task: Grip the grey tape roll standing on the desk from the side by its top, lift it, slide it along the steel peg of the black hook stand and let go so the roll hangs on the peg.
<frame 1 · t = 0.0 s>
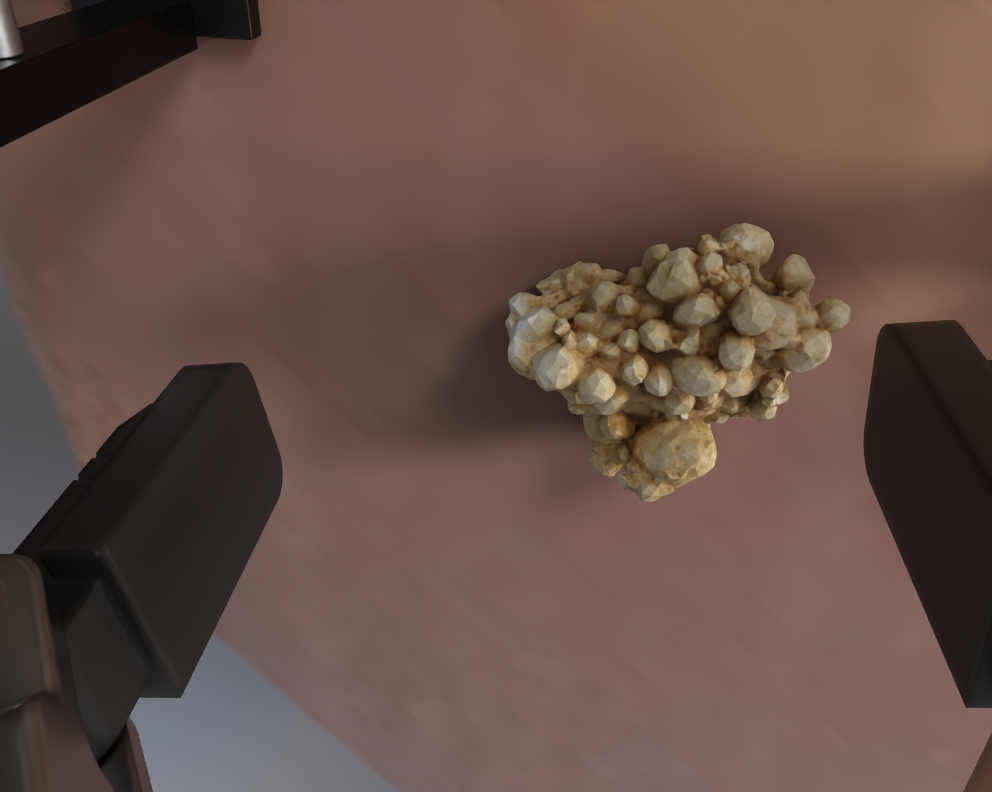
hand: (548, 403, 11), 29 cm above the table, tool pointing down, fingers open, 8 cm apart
mineral formation: (679, 319, 42), on the table
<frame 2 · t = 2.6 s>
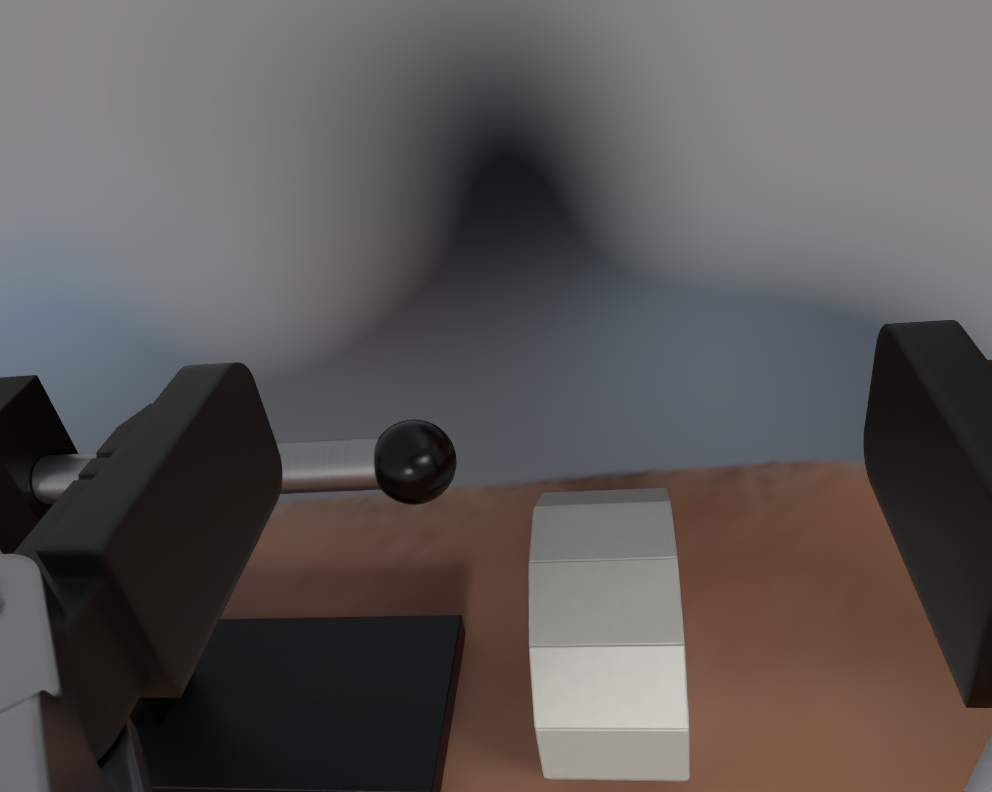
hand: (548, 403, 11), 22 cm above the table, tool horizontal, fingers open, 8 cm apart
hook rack: (298, 712, 34), on the table
tape roll: (617, 713, 32), on the table
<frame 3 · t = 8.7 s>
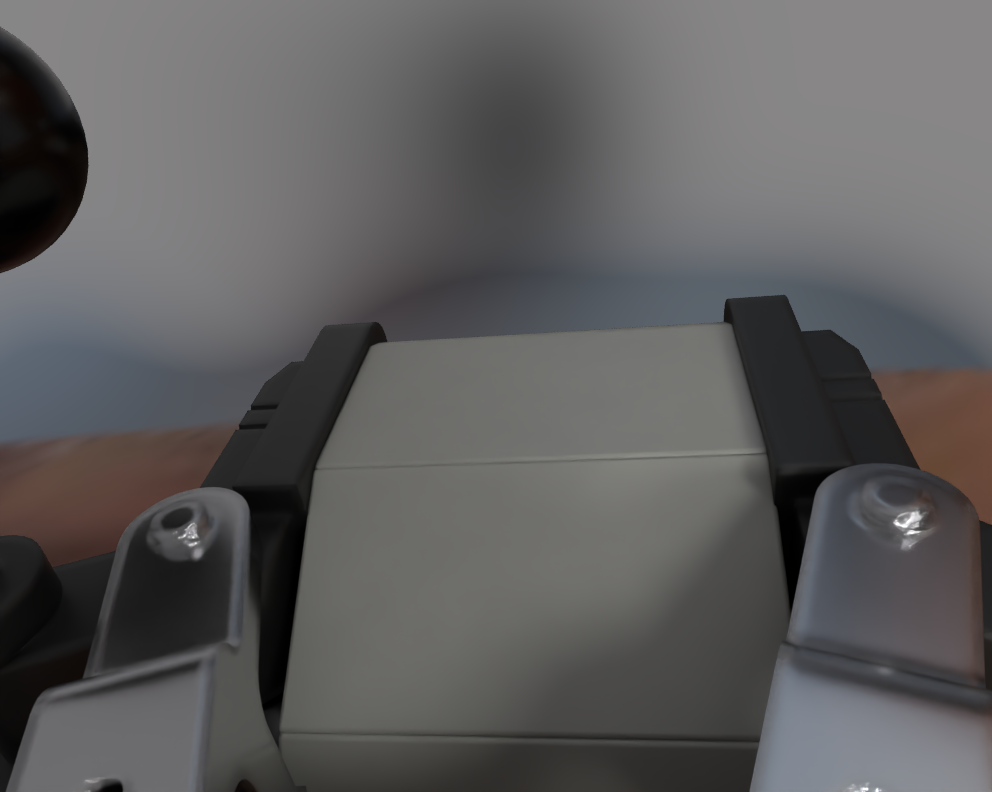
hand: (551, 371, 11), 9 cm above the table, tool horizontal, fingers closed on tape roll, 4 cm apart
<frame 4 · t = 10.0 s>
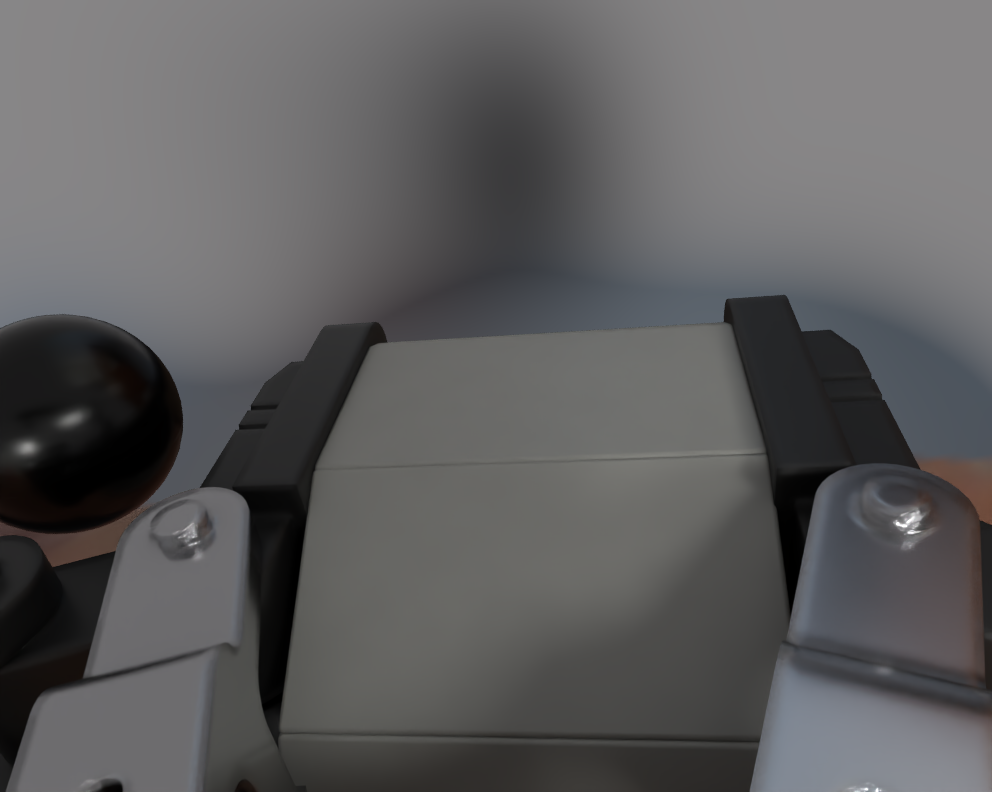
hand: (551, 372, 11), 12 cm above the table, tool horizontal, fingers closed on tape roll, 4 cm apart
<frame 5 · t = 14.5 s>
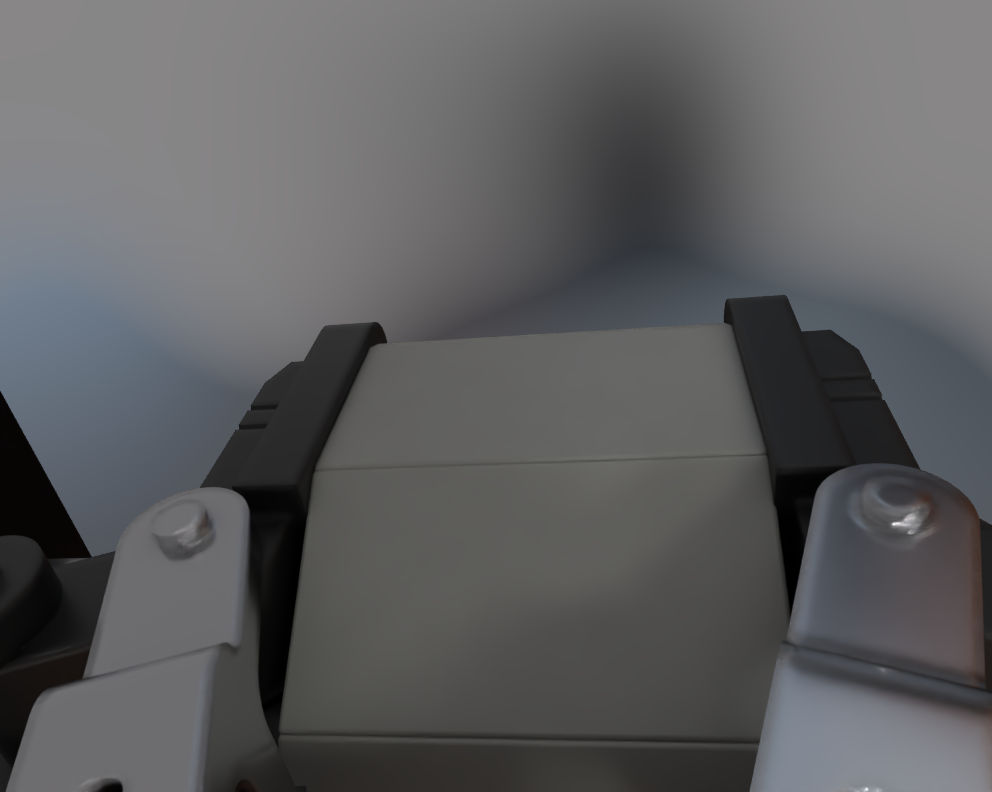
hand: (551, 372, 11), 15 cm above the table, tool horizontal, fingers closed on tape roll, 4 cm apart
when the fingers open (17 cm above the table, at t = 25.1 s): tape roll drops 2 cm, resting on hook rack.
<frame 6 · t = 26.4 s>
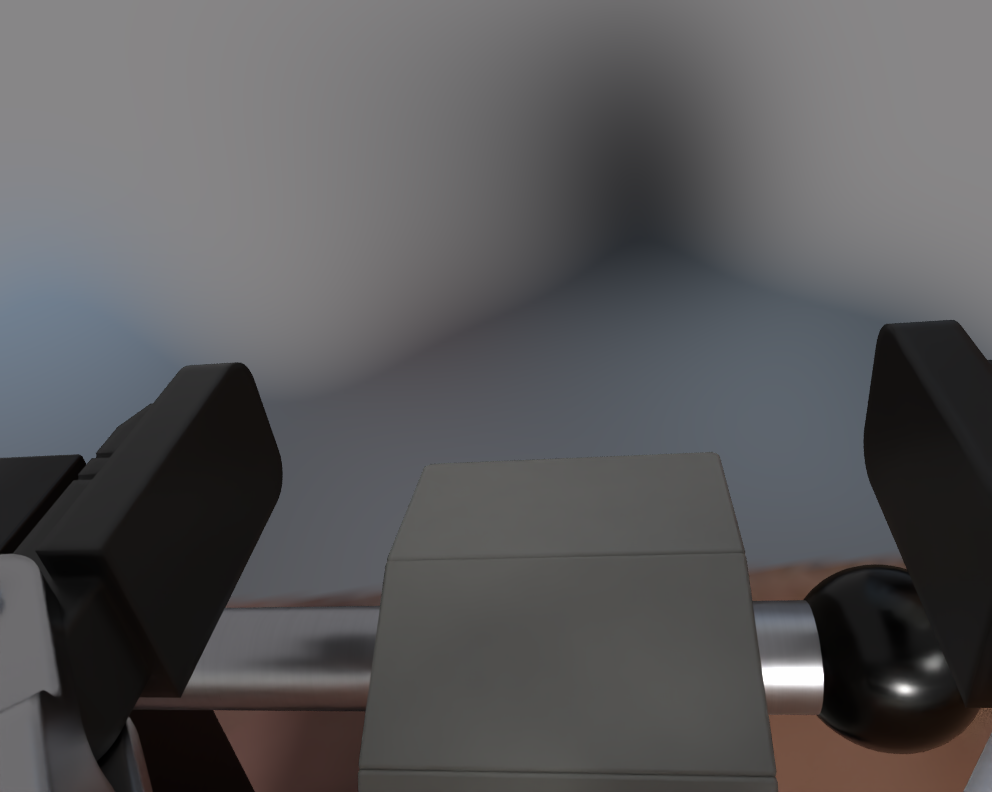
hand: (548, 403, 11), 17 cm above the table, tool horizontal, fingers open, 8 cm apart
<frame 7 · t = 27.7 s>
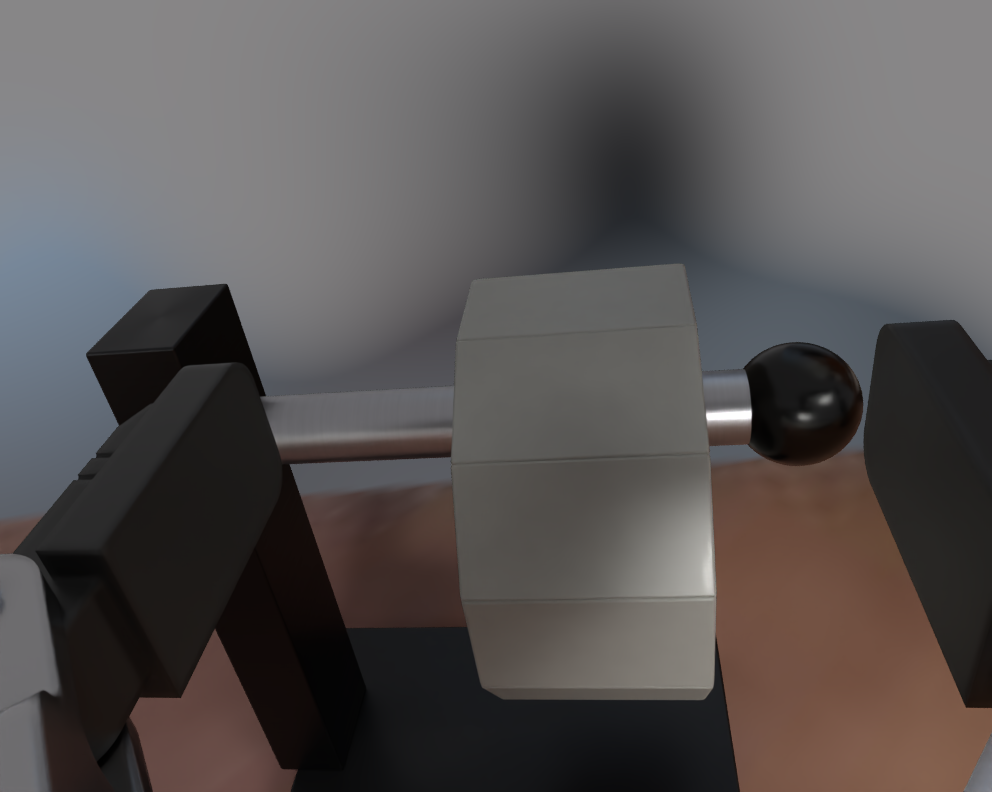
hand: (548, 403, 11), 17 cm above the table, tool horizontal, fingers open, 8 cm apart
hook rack: (516, 751, 26), on the table
tape roll: (603, 614, 22), point 6 cm above the table, touching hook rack
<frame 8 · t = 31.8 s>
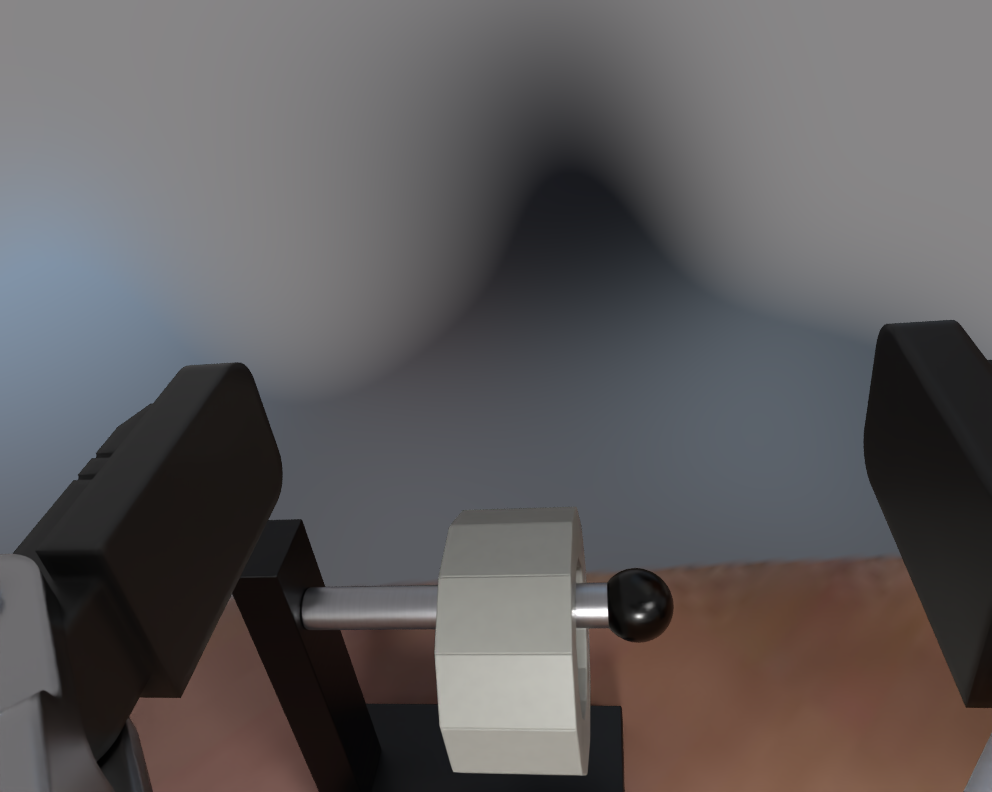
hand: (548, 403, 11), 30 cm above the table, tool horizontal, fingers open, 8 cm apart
tape roll: (535, 712, 34), point 6 cm above the table, touching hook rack
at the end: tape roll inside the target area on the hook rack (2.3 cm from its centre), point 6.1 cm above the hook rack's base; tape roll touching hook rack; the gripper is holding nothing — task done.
